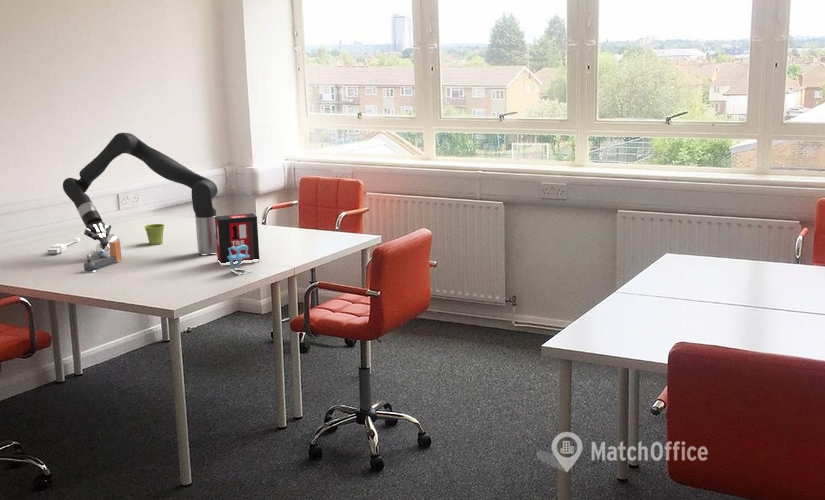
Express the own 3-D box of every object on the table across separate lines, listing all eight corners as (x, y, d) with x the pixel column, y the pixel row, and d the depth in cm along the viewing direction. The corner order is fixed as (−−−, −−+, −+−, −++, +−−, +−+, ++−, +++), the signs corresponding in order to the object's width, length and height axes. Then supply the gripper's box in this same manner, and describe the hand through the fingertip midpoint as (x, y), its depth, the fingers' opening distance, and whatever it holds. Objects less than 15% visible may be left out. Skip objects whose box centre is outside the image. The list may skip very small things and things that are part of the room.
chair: (240, 269, 377) (238, 241, 374) (253, 271, 372) (251, 243, 369) (225, 272, 371) (223, 244, 368) (238, 275, 366) (237, 247, 363)
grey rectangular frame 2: (106, 266, 386) (106, 264, 386) (98, 265, 388) (98, 264, 388) (116, 262, 392) (116, 261, 392) (107, 262, 393) (107, 260, 393)
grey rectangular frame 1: (98, 269, 381) (97, 267, 381) (89, 268, 383) (89, 267, 383) (107, 265, 387) (107, 264, 387) (99, 264, 388) (99, 263, 388)
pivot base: (99, 269, 381) (97, 253, 380) (95, 272, 375) (93, 256, 374) (85, 269, 381) (83, 253, 379) (80, 273, 375) (78, 256, 373)
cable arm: (90, 271, 375) (88, 251, 373) (82, 270, 377) (80, 251, 375) (122, 260, 393) (121, 241, 392) (114, 259, 395) (112, 241, 393)
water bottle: (121, 235, 421) (110, 247, 396) (118, 249, 422) (107, 261, 398) (106, 231, 419) (94, 243, 395) (103, 245, 421) (91, 258, 397)
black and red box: (221, 266, 383) (218, 220, 378) (217, 261, 391) (214, 216, 386) (259, 262, 388) (256, 216, 384) (255, 257, 396) (252, 213, 392)
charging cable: (84, 242, 440) (83, 235, 439) (58, 255, 408) (57, 247, 407) (73, 242, 440) (73, 235, 439) (47, 255, 408) (46, 248, 407)
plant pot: (163, 245, 424) (161, 227, 422) (143, 246, 424) (141, 228, 422) (168, 241, 433) (167, 223, 431) (149, 241, 433) (147, 224, 431)
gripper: (78, 212, 394) (94, 242, 389) (105, 207, 404) (122, 237, 399) (73, 222, 399) (89, 253, 394) (100, 217, 409) (117, 247, 403)
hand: (106, 245), depth 396 cm, fingers closed
